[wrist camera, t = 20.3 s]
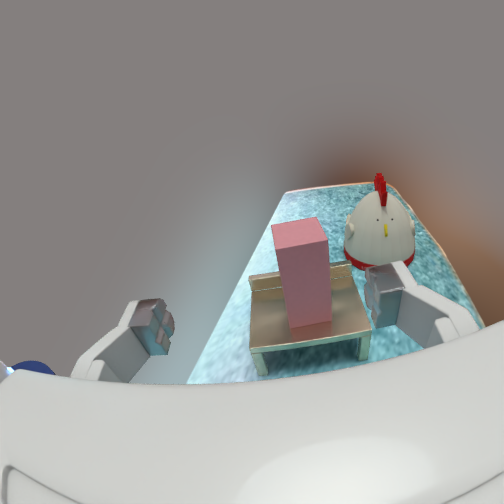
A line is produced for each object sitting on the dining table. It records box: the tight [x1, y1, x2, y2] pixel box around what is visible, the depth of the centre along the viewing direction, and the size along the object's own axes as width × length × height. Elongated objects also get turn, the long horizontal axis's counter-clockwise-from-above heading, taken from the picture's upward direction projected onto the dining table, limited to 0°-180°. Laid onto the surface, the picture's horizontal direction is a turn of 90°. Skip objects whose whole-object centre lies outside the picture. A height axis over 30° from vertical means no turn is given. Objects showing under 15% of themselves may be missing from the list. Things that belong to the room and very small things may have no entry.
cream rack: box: [249, 260, 372, 376], centre depth 36 cm, size 14×11×8 cm
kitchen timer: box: [344, 173, 415, 271], centre depth 46 cm, size 14×14×15 cm
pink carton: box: [271, 217, 332, 329], centre depth 31 cm, size 5×5×11 cm
